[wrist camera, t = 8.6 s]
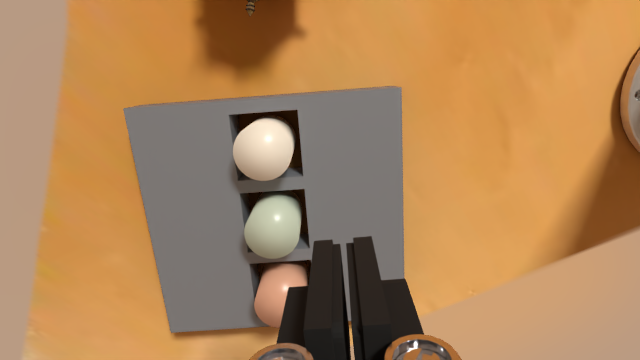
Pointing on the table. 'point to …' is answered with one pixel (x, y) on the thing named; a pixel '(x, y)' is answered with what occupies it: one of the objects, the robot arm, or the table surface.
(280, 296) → the pink egg
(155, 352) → the table surface
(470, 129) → the table surface
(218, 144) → the panel
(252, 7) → the game die
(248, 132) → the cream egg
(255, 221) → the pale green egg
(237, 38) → the table surface
